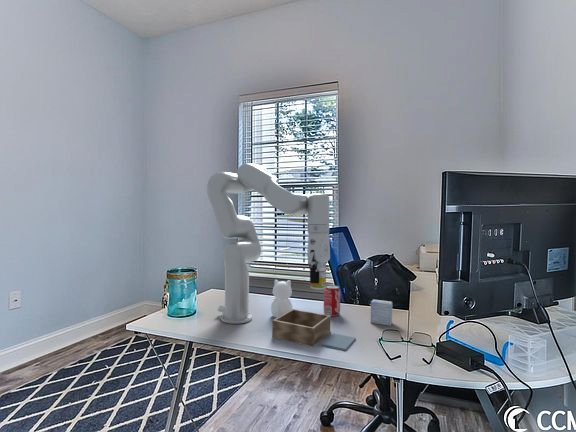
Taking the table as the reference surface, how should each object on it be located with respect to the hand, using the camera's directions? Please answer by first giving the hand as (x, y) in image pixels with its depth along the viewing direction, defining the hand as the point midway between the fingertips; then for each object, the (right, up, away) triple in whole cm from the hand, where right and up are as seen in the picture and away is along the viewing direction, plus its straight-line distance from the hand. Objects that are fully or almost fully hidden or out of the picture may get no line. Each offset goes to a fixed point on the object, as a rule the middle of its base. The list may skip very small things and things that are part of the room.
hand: (318, 280), depth 118 cm
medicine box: (+27, -20, +17) cm, 38 cm away
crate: (-5, -20, +3) cm, 21 cm away
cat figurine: (-13, -19, +23) cm, 33 cm away
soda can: (+8, -20, +27) cm, 35 cm away
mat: (+7, -20, -3) cm, 22 cm away
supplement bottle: (0, -3, 0) cm, 3 cm away
